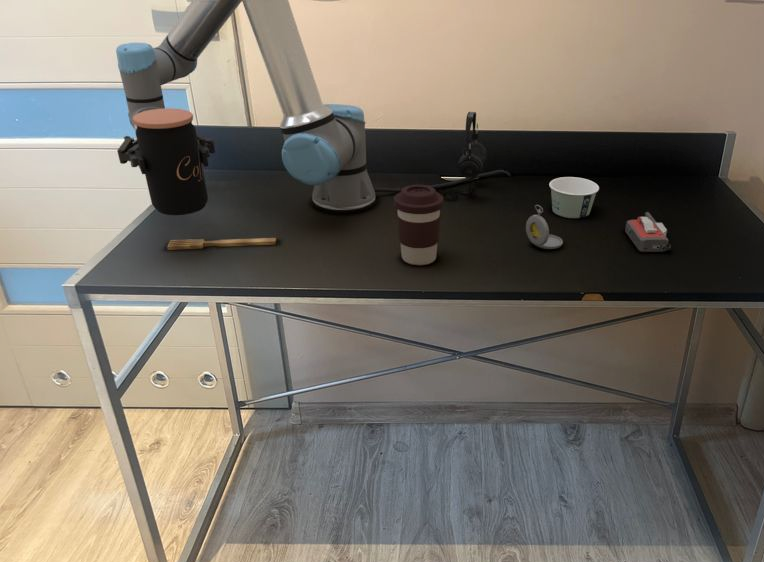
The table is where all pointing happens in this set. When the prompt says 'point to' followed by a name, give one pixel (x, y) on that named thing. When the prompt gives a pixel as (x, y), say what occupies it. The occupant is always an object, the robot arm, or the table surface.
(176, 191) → the coffee jar
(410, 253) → the coffee cup
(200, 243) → the tan flat long part
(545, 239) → the pocket watch
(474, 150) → the headphones
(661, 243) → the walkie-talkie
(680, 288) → the table surface
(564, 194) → the food container
